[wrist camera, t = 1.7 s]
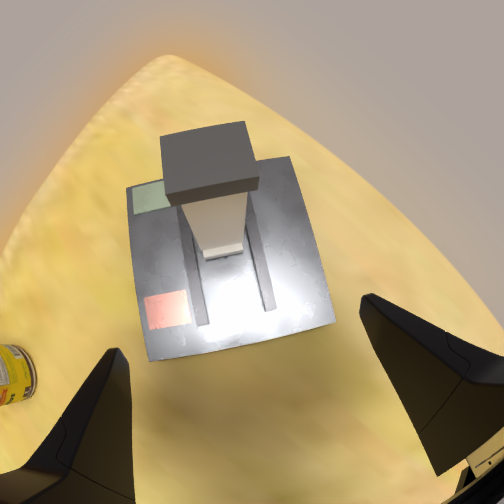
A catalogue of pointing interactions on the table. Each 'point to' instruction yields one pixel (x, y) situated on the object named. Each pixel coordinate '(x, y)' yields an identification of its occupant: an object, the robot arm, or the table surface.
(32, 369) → the supplement bottle
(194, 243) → the box
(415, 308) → the table surface
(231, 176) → the handle
